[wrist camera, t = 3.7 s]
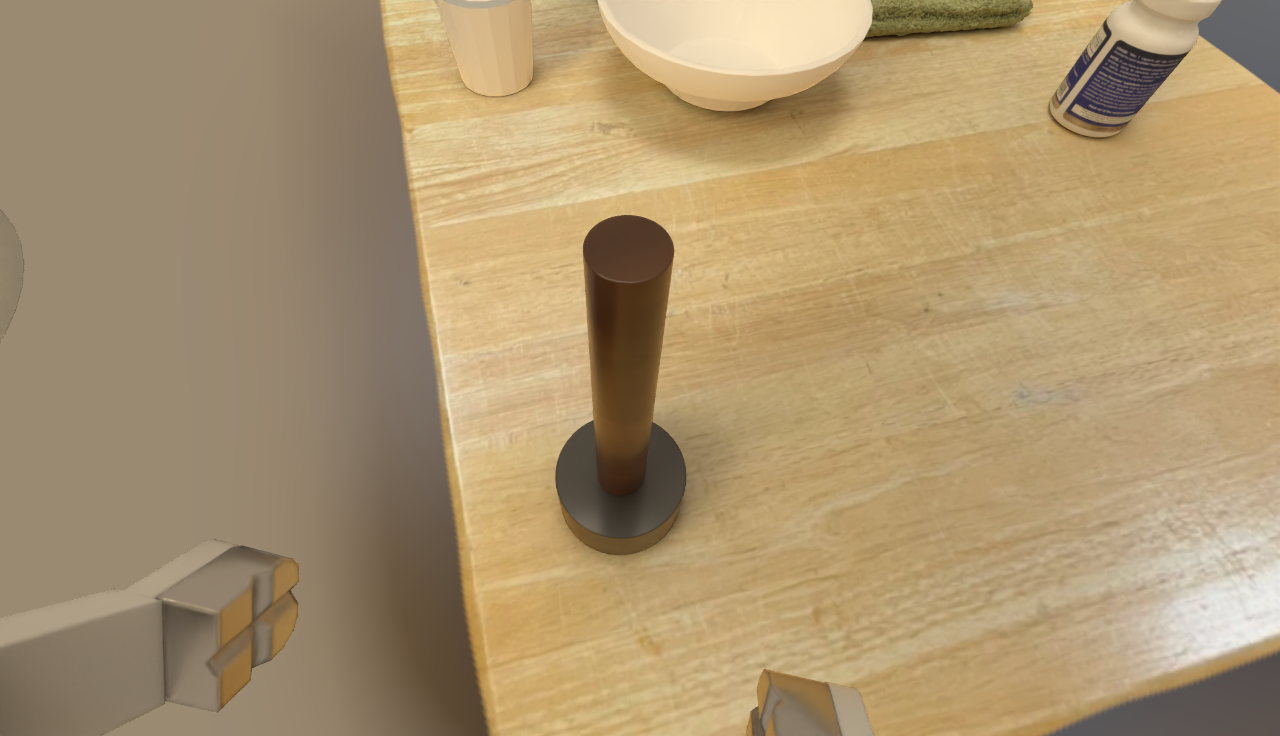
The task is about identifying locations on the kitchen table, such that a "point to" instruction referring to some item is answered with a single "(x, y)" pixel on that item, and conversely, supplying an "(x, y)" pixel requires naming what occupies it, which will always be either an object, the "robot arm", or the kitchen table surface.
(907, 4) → the washcloth
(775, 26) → the bowl
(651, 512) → the paper towel holder
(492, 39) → the shot glass
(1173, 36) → the pill bottle
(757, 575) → the kitchen table surface
